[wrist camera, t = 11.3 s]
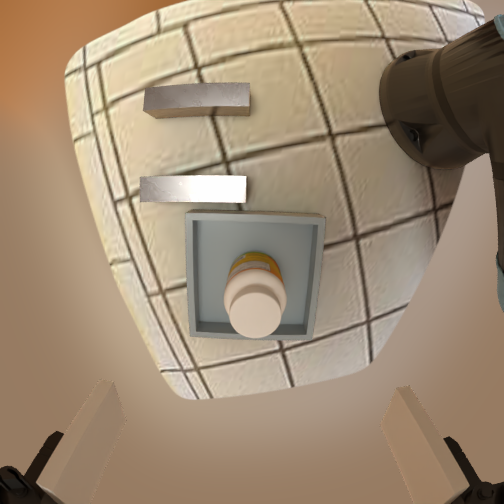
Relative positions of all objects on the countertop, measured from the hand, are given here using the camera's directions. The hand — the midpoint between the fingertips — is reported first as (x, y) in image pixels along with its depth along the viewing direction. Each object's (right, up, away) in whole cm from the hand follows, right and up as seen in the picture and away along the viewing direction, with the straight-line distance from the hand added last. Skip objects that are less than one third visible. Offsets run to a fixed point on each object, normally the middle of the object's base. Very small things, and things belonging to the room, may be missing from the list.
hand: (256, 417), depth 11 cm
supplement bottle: (0, +5, +20) cm, 20 cm away
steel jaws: (-6, +18, +17) cm, 25 cm away
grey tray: (0, +5, +20) cm, 21 cm away
